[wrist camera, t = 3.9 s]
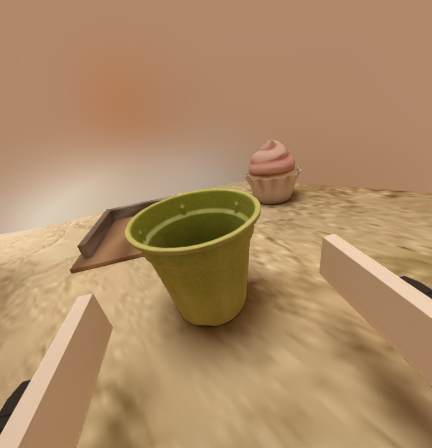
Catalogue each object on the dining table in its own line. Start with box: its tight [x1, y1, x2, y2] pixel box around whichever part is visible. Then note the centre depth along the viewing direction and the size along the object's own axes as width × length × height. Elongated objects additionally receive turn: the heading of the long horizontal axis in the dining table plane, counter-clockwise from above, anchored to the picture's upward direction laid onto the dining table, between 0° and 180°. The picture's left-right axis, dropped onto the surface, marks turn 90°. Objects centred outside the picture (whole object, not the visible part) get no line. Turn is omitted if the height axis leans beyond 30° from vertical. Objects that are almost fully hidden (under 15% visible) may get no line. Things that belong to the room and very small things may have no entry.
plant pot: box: [125, 189, 261, 326], centre depth 17 cm, size 9×9×9 cm
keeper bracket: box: [70, 195, 176, 273], centre depth 33 cm, size 16×16×2 cm
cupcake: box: [245, 139, 301, 204], centre depth 35 cm, size 9×9×10 cm
